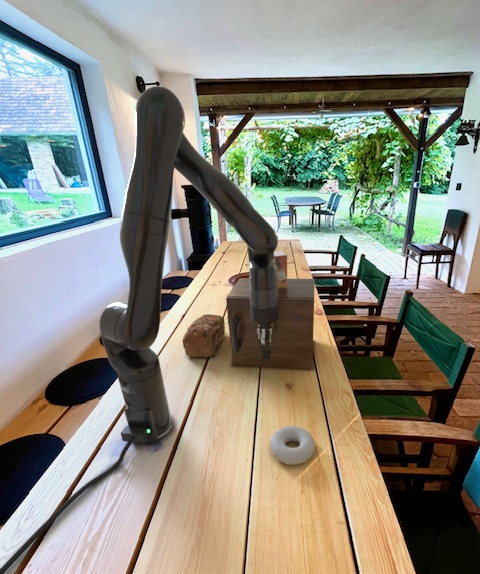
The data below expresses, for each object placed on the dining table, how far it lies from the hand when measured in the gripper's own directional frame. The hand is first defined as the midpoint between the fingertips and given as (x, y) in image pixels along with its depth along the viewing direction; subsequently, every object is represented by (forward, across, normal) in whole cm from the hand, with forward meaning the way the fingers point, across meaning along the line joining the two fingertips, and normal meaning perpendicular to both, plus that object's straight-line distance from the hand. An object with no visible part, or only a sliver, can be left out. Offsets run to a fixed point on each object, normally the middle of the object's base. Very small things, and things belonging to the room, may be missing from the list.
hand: (266, 359), depth 91 cm
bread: (+9, -24, -25) cm, 36 cm away
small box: (-15, -19, +1) cm, 24 cm away
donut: (+10, +24, +8) cm, 27 cm away
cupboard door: (+9, -7, 0) cm, 11 cm away
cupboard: (+9, -20, +1) cm, 21 cm away
